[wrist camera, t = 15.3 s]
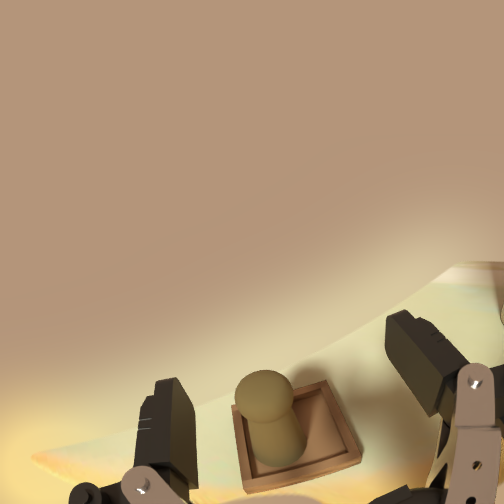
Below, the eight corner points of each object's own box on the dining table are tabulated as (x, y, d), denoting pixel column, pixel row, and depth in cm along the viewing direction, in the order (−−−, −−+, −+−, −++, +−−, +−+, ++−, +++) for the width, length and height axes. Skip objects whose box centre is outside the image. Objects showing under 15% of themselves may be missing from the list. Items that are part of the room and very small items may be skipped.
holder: (326, 388, 35) (325, 379, 35) (360, 462, 24) (361, 456, 23) (234, 413, 35) (231, 405, 34) (247, 494, 24) (243, 488, 23)
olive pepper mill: (245, 435, 30) (218, 374, 26) (293, 416, 32) (278, 351, 28) (263, 475, 25) (237, 422, 21) (316, 452, 26) (308, 392, 22)
